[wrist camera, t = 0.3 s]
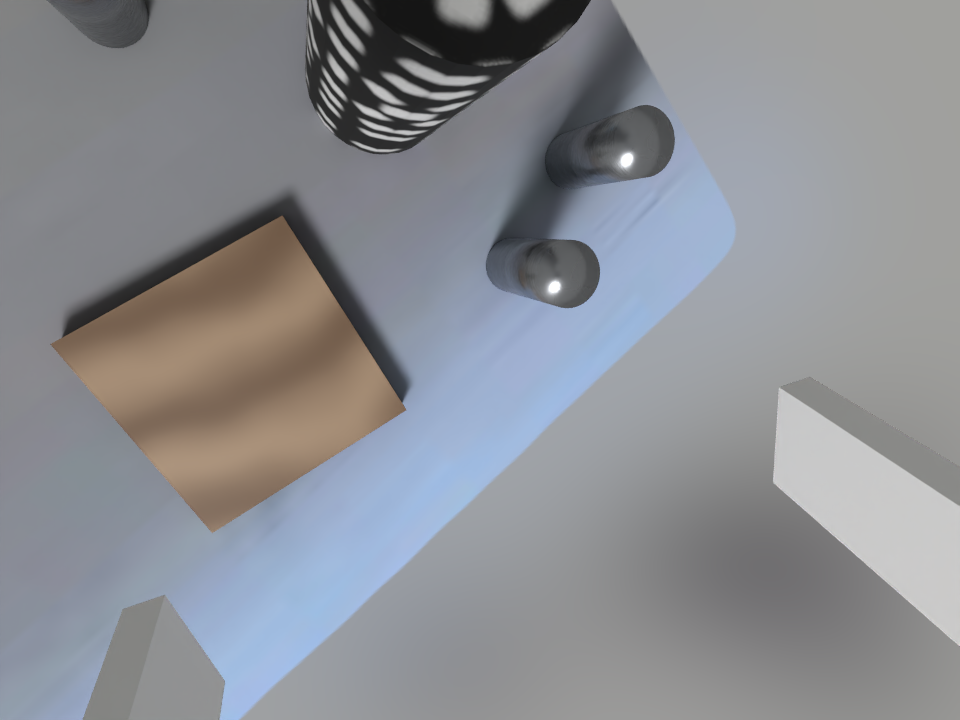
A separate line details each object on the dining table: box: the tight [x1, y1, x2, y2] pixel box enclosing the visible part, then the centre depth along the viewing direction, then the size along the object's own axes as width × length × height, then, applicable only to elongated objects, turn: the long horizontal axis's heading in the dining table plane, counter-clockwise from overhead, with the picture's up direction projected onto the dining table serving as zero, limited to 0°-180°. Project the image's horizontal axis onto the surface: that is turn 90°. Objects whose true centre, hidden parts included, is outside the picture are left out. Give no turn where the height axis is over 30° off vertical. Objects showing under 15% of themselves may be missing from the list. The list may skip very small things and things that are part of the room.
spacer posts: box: [47, 0, 675, 308], centre depth 30 cm, size 30×24×9 cm
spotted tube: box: [305, 0, 591, 154], centre depth 25 cm, size 8×8×20 cm
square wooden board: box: [51, 216, 406, 533], centre depth 35 cm, size 14×14×2 cm
